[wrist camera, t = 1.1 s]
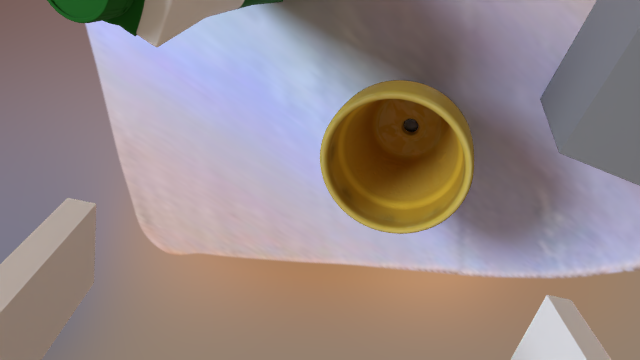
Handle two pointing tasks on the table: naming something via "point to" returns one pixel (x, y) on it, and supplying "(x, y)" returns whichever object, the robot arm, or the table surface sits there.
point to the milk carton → (148, 14)
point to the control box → (600, 92)
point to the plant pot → (398, 157)
